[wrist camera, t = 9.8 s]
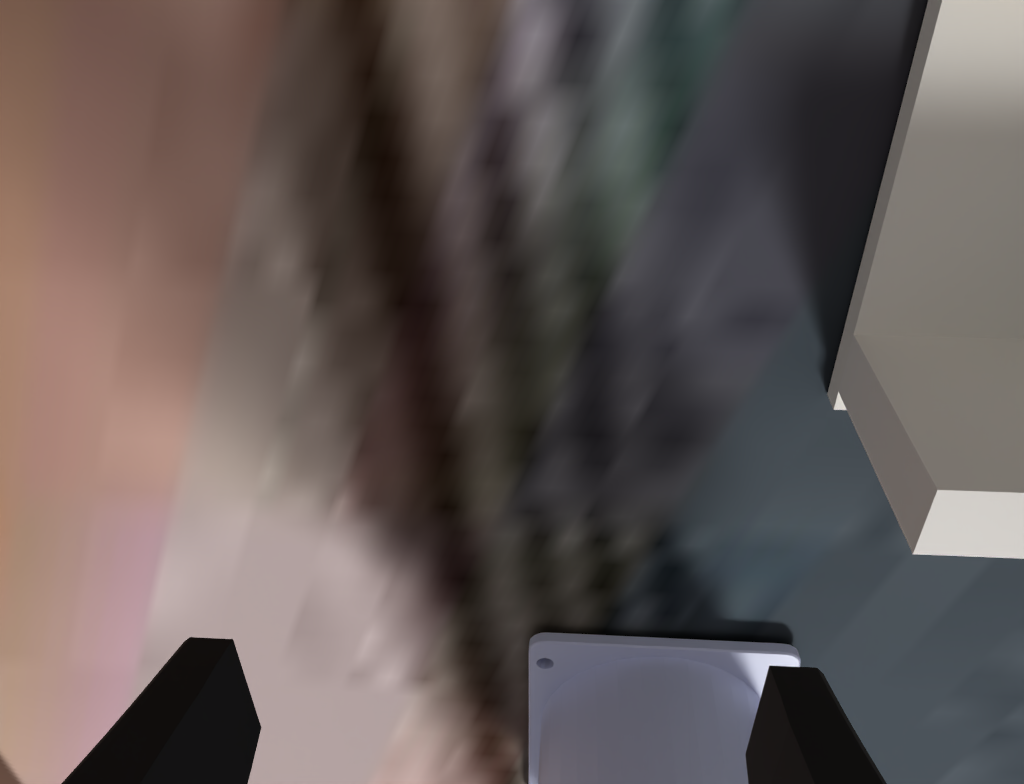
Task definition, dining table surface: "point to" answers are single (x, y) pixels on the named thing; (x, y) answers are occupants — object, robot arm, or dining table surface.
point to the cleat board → (947, 292)
